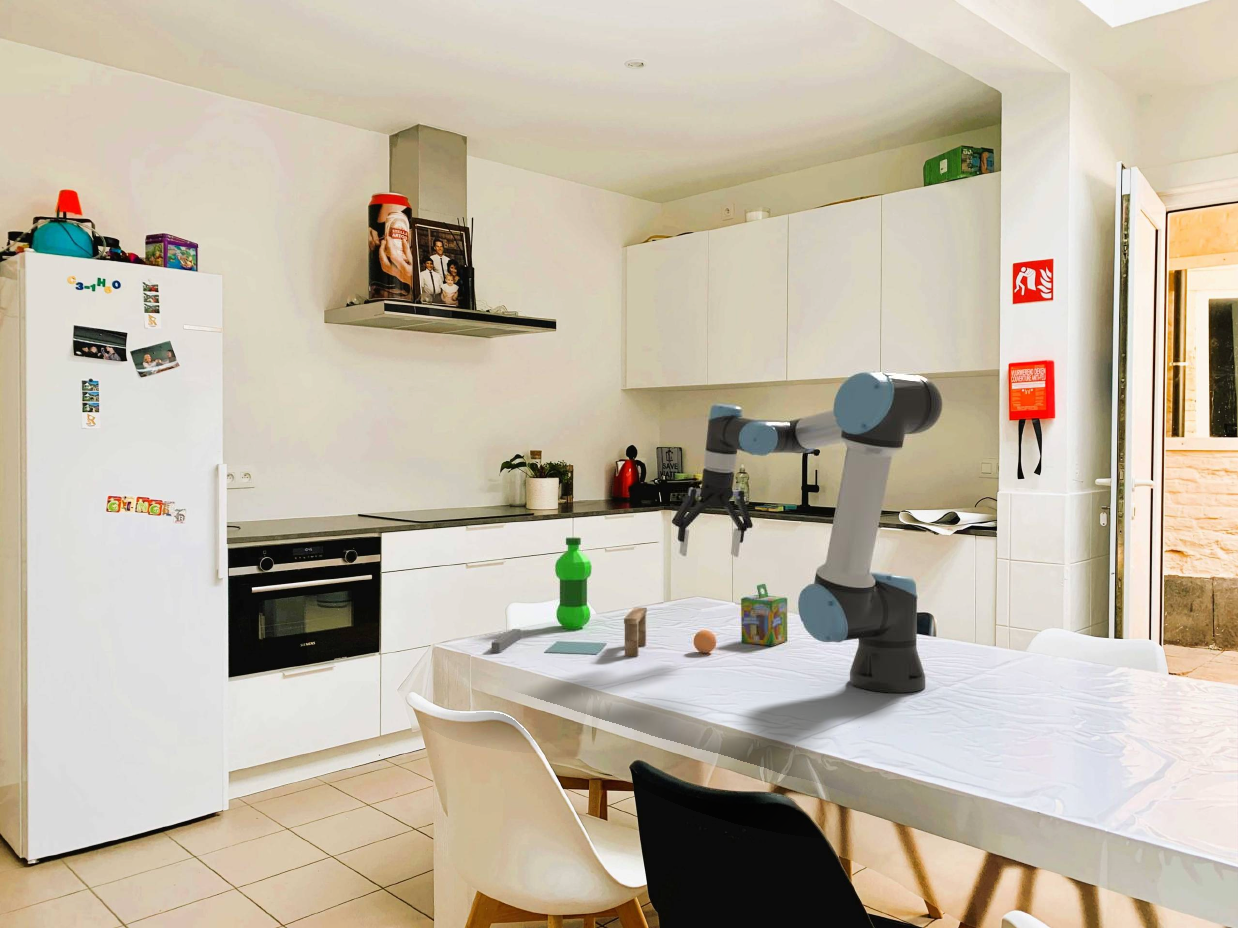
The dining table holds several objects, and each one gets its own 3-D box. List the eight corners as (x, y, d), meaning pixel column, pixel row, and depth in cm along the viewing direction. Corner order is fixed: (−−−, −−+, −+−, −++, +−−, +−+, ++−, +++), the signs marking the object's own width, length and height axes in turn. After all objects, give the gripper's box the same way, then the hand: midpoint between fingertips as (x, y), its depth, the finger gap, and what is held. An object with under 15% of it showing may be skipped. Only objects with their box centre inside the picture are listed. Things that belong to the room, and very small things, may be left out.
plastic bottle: (598, 626, 255) (598, 537, 255) (577, 632, 246) (577, 540, 246) (569, 622, 260) (569, 535, 260) (547, 628, 251) (547, 538, 251)
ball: (715, 655, 216) (715, 632, 216) (692, 654, 217) (692, 631, 217) (717, 650, 222) (717, 628, 222) (694, 650, 223) (694, 627, 223)
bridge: (646, 643, 230) (646, 607, 230) (636, 657, 214) (636, 618, 214) (635, 643, 231) (635, 607, 231) (623, 657, 215) (623, 618, 215)
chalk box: (772, 647, 226) (772, 588, 226) (739, 642, 232) (739, 585, 232) (789, 641, 234) (789, 584, 234) (757, 637, 239) (757, 581, 239)
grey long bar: (499, 653, 219) (499, 642, 219) (491, 652, 220) (491, 642, 220) (520, 638, 237) (520, 629, 237) (513, 638, 237) (513, 628, 237)
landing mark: (596, 654, 218) (596, 653, 218) (544, 652, 220) (544, 651, 220) (606, 643, 230) (606, 642, 230) (557, 641, 233) (557, 641, 233)
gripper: (759, 468, 223) (749, 551, 227) (664, 463, 216) (655, 549, 219) (773, 474, 216) (762, 559, 220) (675, 470, 209) (665, 558, 212)
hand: (708, 555), depth 220 cm, fingers open, 13 cm apart
